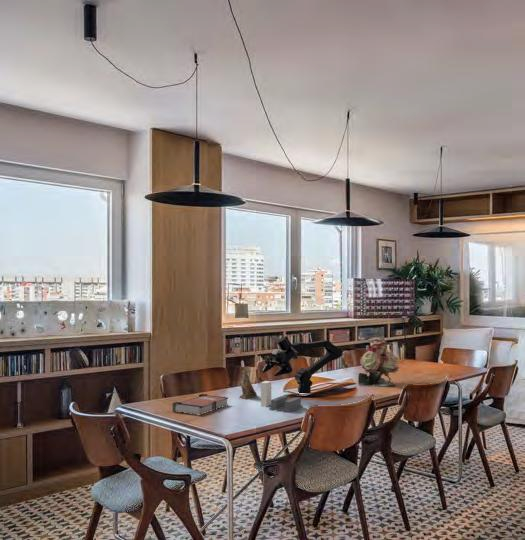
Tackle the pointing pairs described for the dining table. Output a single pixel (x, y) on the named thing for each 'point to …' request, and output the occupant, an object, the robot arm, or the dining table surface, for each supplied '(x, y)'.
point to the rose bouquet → (377, 364)
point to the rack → (285, 404)
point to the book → (200, 404)
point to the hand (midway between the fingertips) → (268, 373)
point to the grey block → (266, 393)
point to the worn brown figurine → (247, 387)
